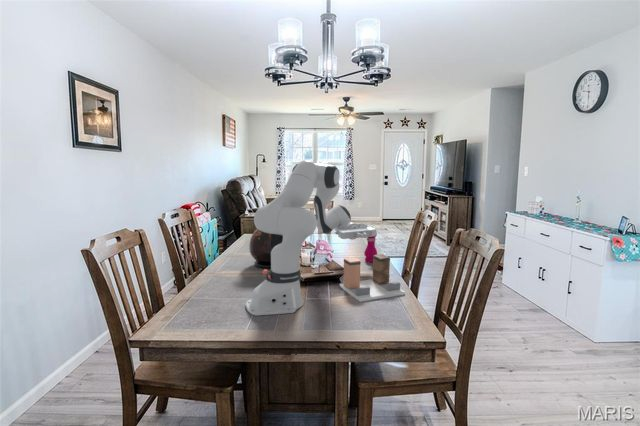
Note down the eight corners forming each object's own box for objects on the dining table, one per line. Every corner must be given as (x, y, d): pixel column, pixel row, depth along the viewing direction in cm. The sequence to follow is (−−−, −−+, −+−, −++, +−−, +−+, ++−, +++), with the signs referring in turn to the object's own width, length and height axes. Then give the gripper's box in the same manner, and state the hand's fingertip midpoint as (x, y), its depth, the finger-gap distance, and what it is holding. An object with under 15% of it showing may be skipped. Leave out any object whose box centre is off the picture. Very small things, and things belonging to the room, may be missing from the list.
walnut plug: (379, 284, 160) (380, 258, 158) (372, 280, 165) (373, 255, 164) (389, 283, 162) (390, 257, 160) (381, 278, 167) (382, 254, 166)
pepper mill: (376, 263, 197) (377, 228, 194) (363, 262, 199) (364, 227, 196) (377, 259, 204) (378, 225, 201) (364, 259, 206) (365, 225, 203)
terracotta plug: (349, 288, 154) (350, 262, 152) (343, 284, 160) (343, 258, 158) (360, 287, 156) (360, 260, 154) (353, 282, 162) (354, 257, 160)
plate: (359, 301, 144) (359, 291, 143) (339, 286, 161) (339, 277, 161) (405, 294, 152) (405, 285, 152) (381, 280, 170) (381, 271, 169)
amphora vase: (297, 266, 190) (296, 215, 186) (259, 274, 178) (258, 218, 174) (278, 257, 208) (277, 210, 203) (243, 263, 196) (241, 213, 191)
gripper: (333, 226, 184) (345, 231, 171) (368, 223, 192) (382, 228, 179) (333, 238, 185) (345, 244, 172) (368, 235, 192) (381, 240, 180)
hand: (364, 236), depth 176 cm, fingers closed
